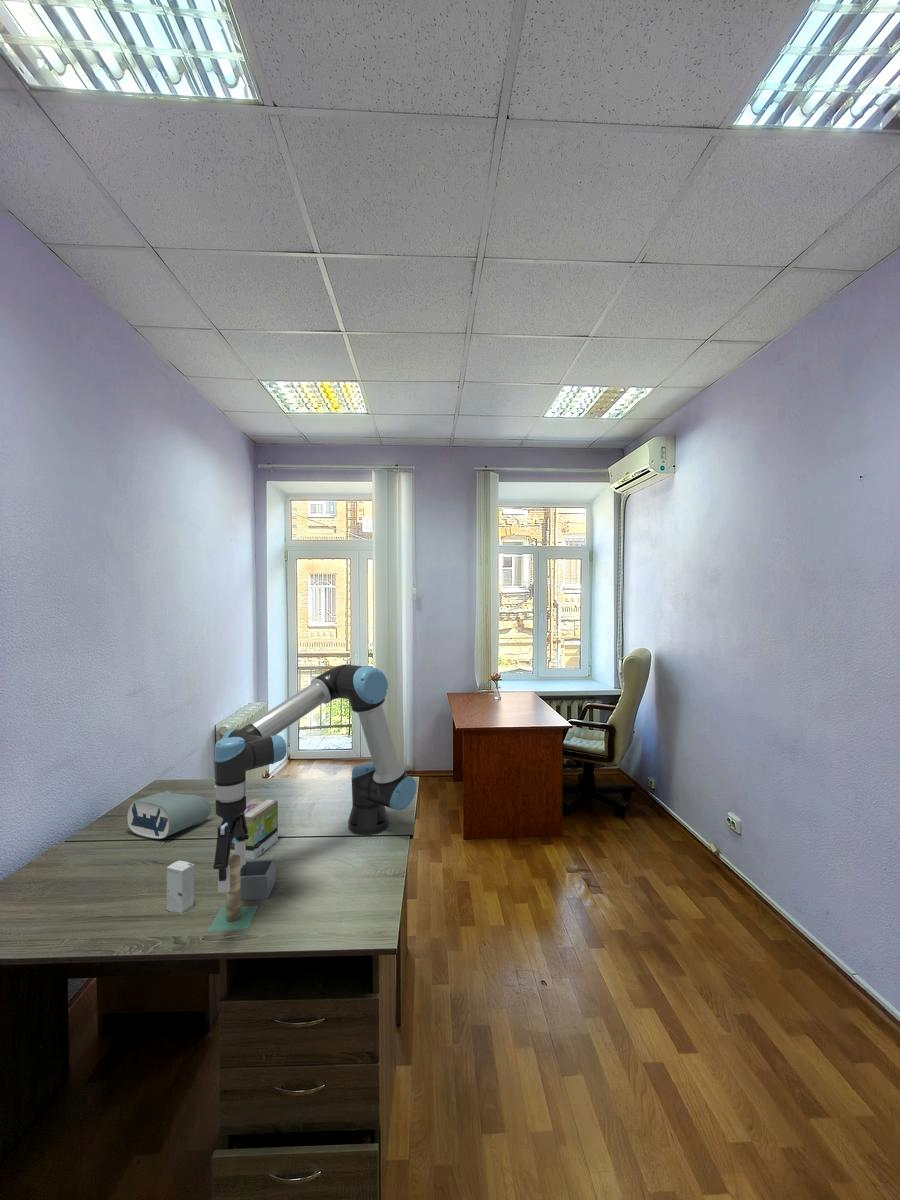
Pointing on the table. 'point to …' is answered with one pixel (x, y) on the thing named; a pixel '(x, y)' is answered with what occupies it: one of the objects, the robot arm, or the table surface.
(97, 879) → the table surface
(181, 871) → the skincare box
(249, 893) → the pen cup
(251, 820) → the tea box
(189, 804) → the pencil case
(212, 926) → the mat
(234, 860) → the dowel
